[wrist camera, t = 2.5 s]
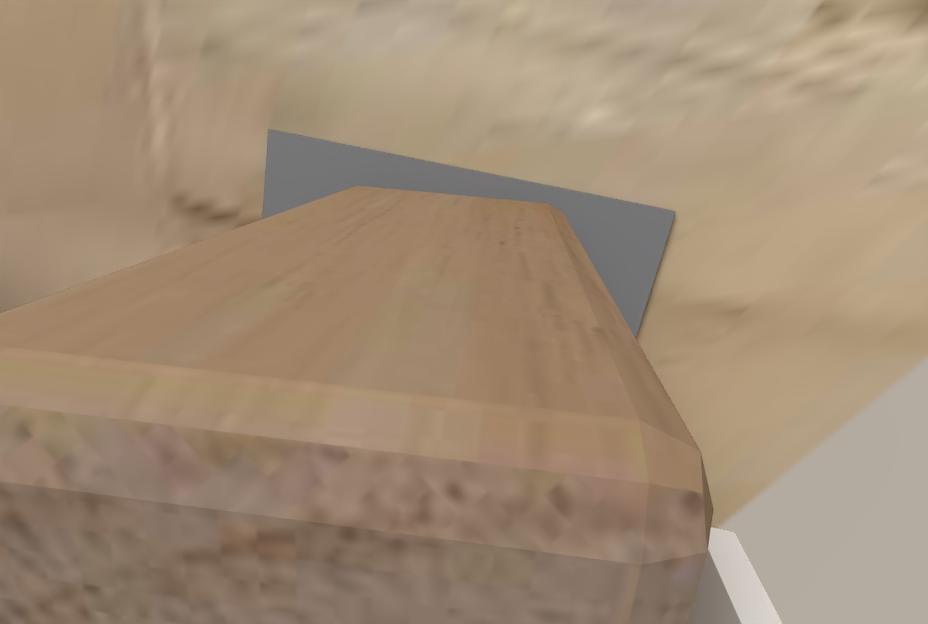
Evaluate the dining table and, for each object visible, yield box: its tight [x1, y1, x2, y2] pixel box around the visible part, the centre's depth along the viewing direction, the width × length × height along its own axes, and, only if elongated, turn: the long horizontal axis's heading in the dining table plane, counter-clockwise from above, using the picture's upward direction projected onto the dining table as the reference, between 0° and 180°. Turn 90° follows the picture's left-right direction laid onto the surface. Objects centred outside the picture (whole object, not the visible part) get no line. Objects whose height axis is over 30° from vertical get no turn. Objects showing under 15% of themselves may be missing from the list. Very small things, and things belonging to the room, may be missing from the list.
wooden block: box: [0, 186, 713, 624], centre depth 16 cm, size 10×10×20 cm
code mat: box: [262, 129, 676, 338], centre depth 26 cm, size 18×12×1 cm, turn 79°
